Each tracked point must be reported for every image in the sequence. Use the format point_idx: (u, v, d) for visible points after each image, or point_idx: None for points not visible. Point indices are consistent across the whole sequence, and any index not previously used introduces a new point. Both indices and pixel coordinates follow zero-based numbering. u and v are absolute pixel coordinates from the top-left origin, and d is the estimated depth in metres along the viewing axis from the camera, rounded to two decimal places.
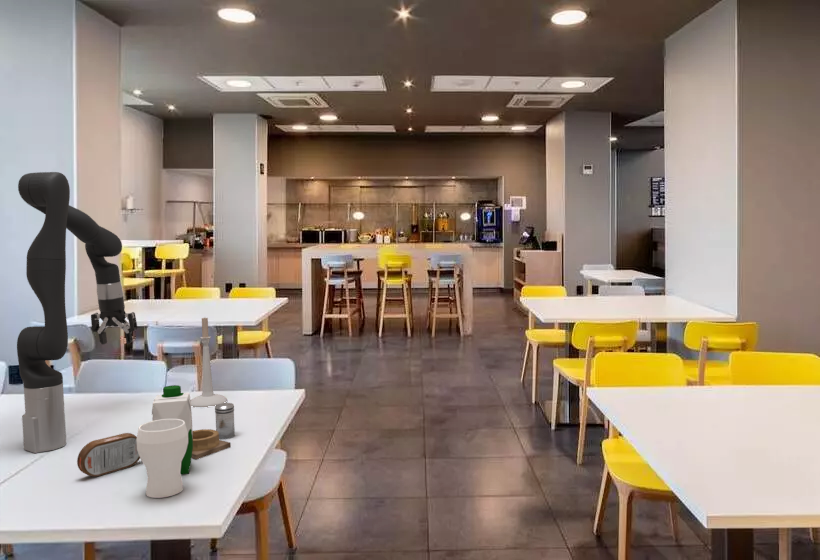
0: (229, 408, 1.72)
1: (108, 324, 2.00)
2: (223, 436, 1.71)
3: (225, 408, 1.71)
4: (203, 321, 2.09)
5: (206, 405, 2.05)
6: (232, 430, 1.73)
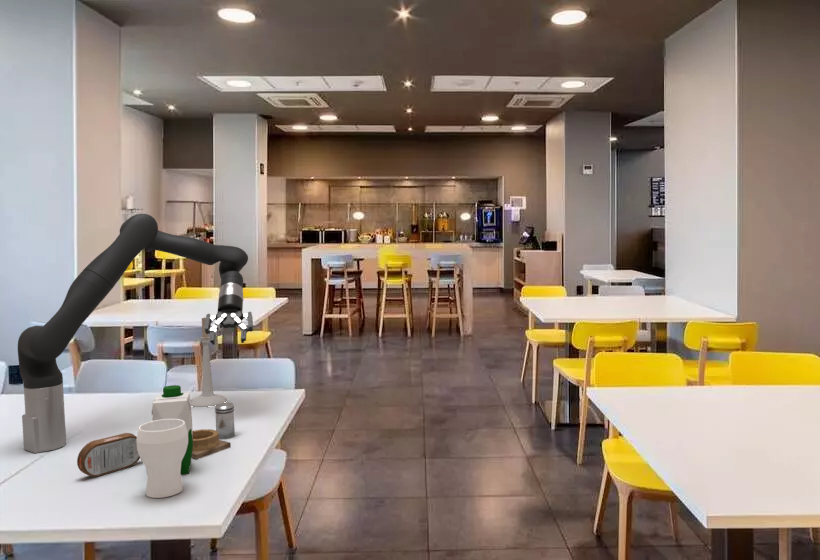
0: (229, 408, 1.72)
1: (224, 322, 1.88)
2: (223, 436, 1.71)
3: (225, 408, 1.71)
4: (203, 321, 2.09)
5: (206, 405, 2.05)
6: (232, 430, 1.73)
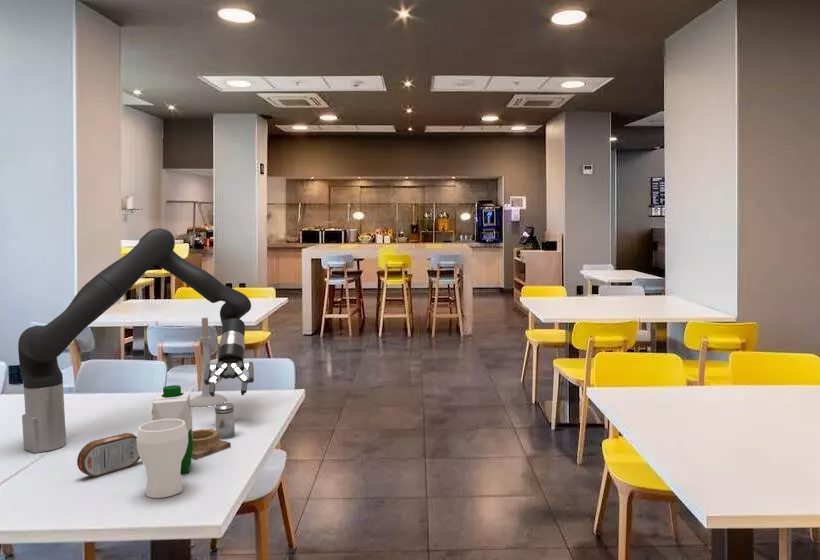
0: (229, 408, 1.72)
1: (224, 372, 1.83)
2: (223, 436, 1.71)
3: (225, 408, 1.71)
4: (203, 321, 2.09)
5: (206, 405, 2.05)
6: (232, 430, 1.73)
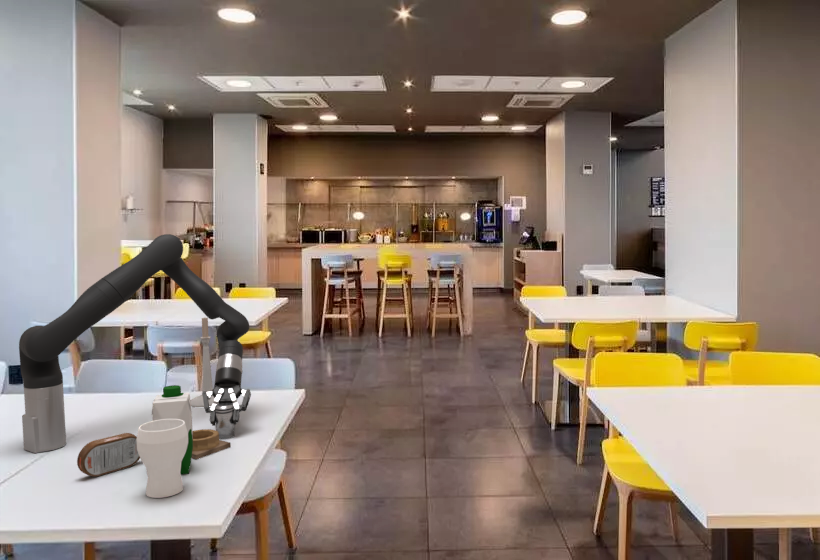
0: (229, 408, 1.72)
1: (223, 398, 1.76)
2: (223, 436, 1.71)
3: (225, 408, 1.71)
4: (203, 321, 2.09)
5: None
6: (232, 430, 1.73)
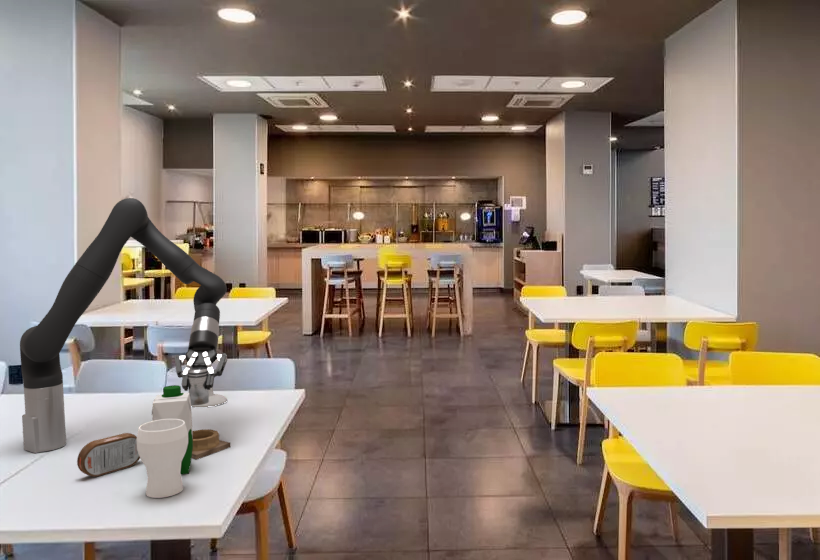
0: (202, 372, 1.61)
1: (196, 362, 1.65)
2: (196, 401, 1.60)
3: (198, 372, 1.60)
4: None
5: (206, 405, 2.05)
6: (205, 395, 1.62)
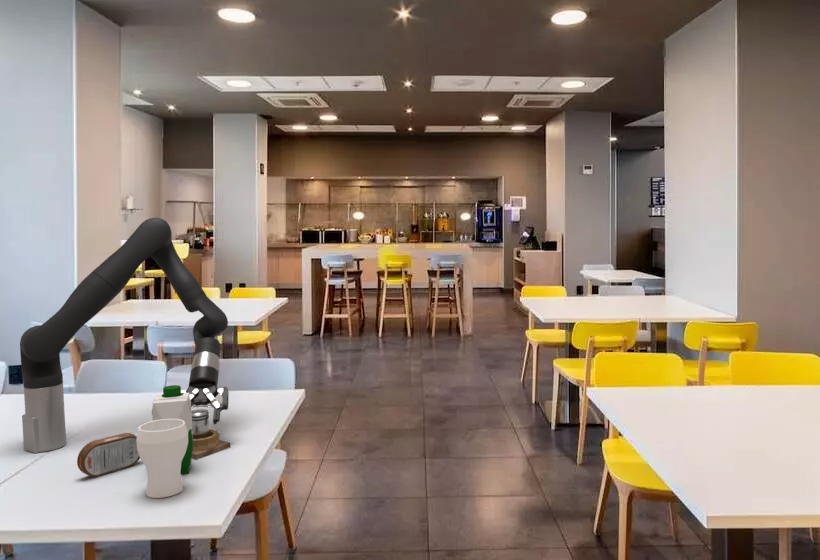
0: (203, 415, 1.61)
1: (195, 399, 1.65)
2: None
3: (199, 415, 1.60)
4: None
5: (206, 405, 2.05)
6: None
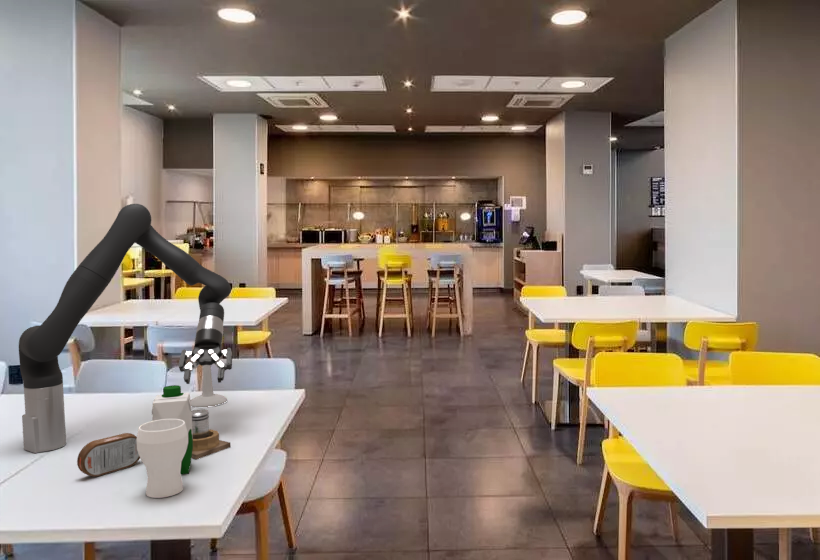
0: (203, 415, 1.61)
1: (200, 359, 1.73)
2: None
3: (199, 415, 1.60)
4: None
5: (206, 405, 2.05)
6: None
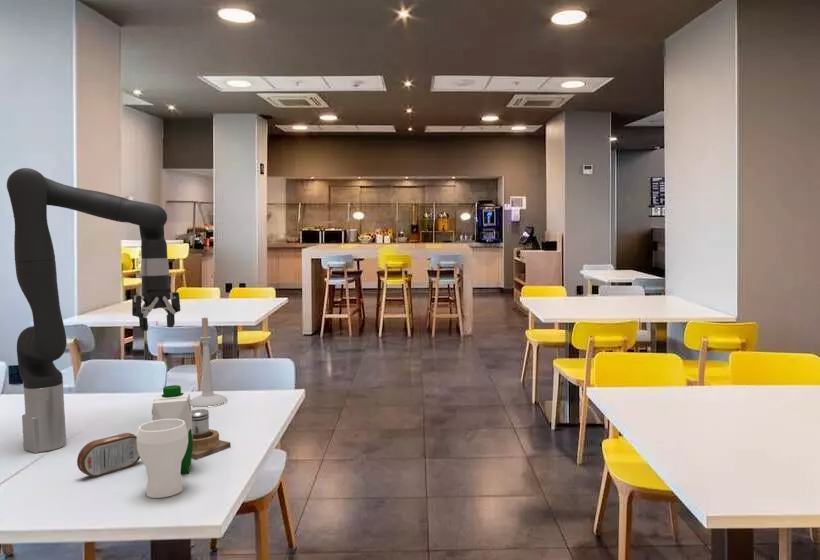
0: (203, 415, 1.61)
1: (155, 306, 1.78)
2: None
3: (199, 415, 1.60)
4: (203, 321, 2.09)
5: (206, 405, 2.05)
6: None
